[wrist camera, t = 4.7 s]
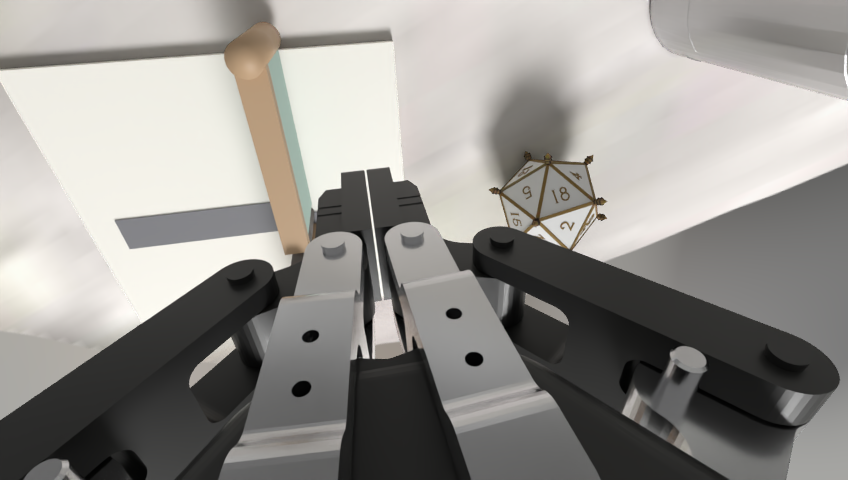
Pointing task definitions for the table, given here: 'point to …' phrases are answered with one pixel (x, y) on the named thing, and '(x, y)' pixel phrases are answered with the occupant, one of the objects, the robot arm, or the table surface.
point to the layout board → (199, 154)
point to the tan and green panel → (272, 130)
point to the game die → (551, 200)
